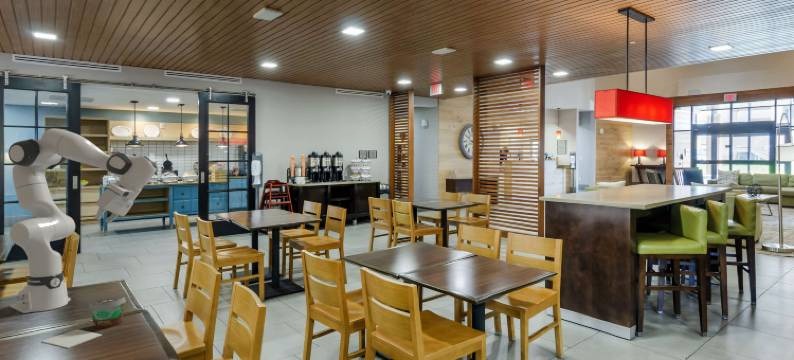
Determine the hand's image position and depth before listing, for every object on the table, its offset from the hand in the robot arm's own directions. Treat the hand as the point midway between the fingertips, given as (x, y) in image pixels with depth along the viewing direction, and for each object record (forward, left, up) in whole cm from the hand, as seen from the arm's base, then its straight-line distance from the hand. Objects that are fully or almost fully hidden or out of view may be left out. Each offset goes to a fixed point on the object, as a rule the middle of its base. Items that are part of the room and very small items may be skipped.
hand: (102, 220), depth 182 cm
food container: (+9, -6, -40) cm, 41 cm away
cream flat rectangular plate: (+9, -19, -39) cm, 44 cm away
